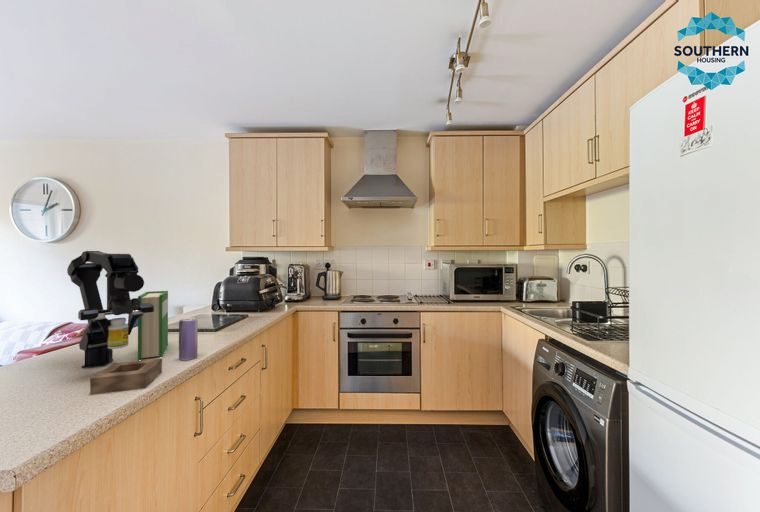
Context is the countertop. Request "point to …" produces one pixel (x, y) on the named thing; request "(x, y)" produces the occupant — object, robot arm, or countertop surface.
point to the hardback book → (153, 325)
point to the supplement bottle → (117, 333)
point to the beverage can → (188, 338)
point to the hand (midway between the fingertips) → (118, 336)
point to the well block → (126, 376)
